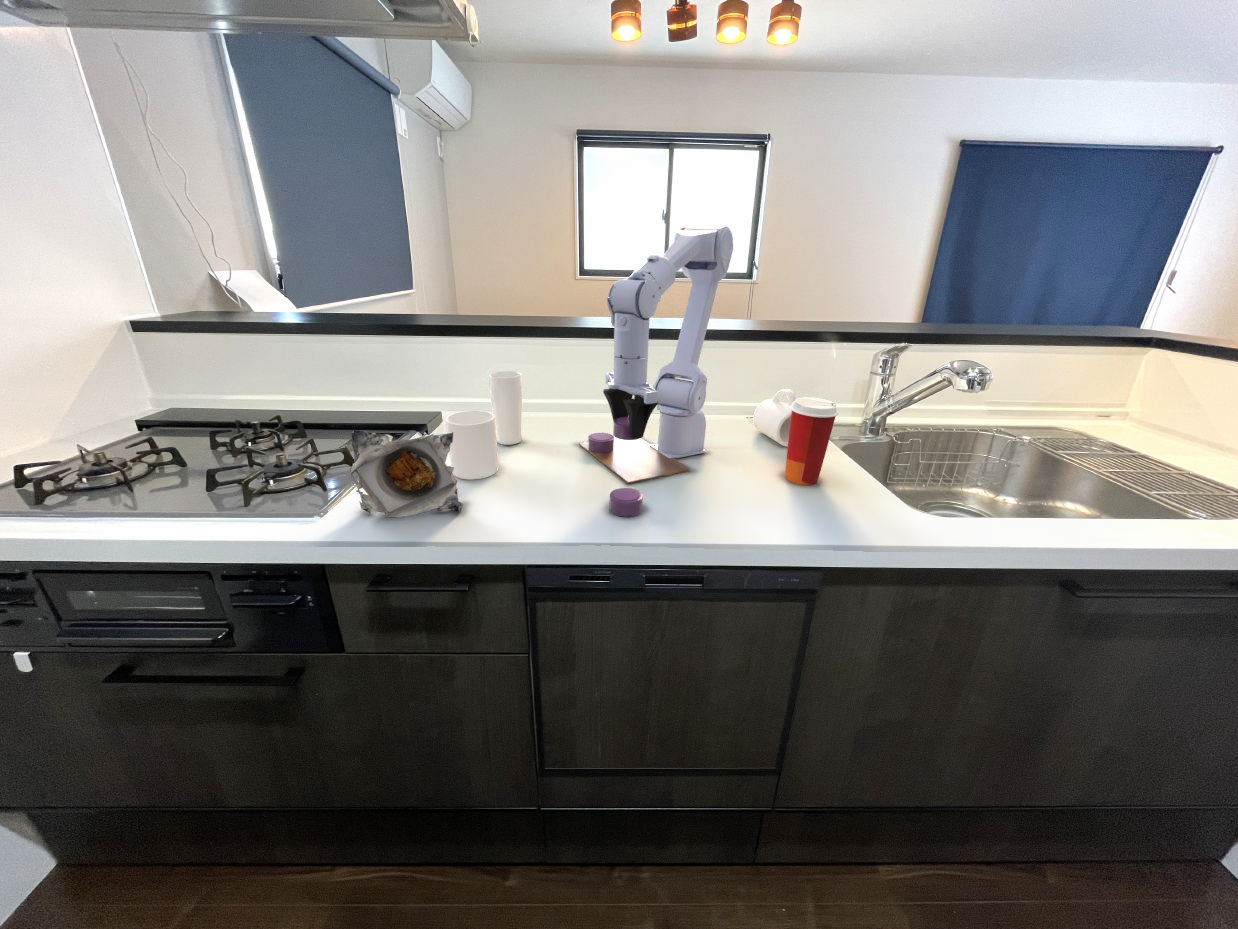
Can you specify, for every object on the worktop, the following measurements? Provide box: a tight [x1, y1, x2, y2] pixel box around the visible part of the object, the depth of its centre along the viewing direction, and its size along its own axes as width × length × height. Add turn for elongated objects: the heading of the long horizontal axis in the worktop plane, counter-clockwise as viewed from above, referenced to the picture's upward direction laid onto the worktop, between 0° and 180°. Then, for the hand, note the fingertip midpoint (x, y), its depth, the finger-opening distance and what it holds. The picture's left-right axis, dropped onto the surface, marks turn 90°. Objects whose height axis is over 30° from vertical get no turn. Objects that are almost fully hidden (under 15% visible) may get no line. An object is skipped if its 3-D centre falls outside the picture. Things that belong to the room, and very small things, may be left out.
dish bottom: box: [608, 487, 644, 518], centre depth 81 cm, size 5×5×3 cm
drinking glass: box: [488, 370, 524, 446], centre depth 105 cm, size 7×7×15 cm
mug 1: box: [444, 409, 500, 481], centre depth 93 cm, size 9×12×11 cm
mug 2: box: [752, 388, 797, 447], centre depth 111 cm, size 8×10×12 cm
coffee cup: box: [784, 396, 839, 486], centre depth 91 cm, size 8×8×15 cm
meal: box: [349, 429, 464, 519], centre depth 76 cm, size 15×4×13 cm, turn 98°
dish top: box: [587, 432, 614, 453], centre depth 104 cm, size 5×5×3 cm
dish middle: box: [612, 417, 640, 440], centre depth 87 cm, size 5×5×3 cm
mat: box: [578, 437, 692, 485], centre depth 102 cm, size 14×22×1 cm, turn 28°
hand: (628, 432), depth 88 cm, fingers closed on dish middle, 5 cm apart
